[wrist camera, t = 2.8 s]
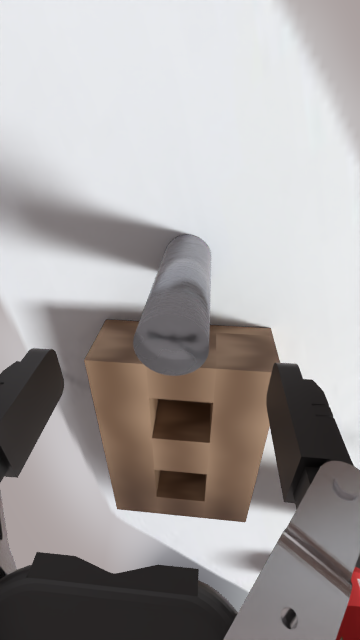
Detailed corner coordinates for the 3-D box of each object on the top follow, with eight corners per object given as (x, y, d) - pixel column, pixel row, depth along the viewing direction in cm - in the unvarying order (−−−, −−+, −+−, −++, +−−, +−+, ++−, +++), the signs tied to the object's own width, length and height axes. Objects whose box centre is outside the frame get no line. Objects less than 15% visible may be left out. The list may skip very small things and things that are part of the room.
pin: (212, 235, 20) (211, 317, 12) (209, 279, 22) (207, 378, 14) (164, 233, 20) (129, 313, 12) (165, 277, 22) (136, 373, 14)
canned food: (314, 559, 45) (339, 672, 36) (372, 564, 44) (413, 681, 35) (305, 579, 49) (326, 685, 40) (358, 584, 48) (392, 693, 39)
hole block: (270, 328, 24) (282, 373, 20) (241, 473, 35) (245, 522, 31) (106, 319, 25) (84, 360, 21) (128, 463, 36) (117, 509, 32)
